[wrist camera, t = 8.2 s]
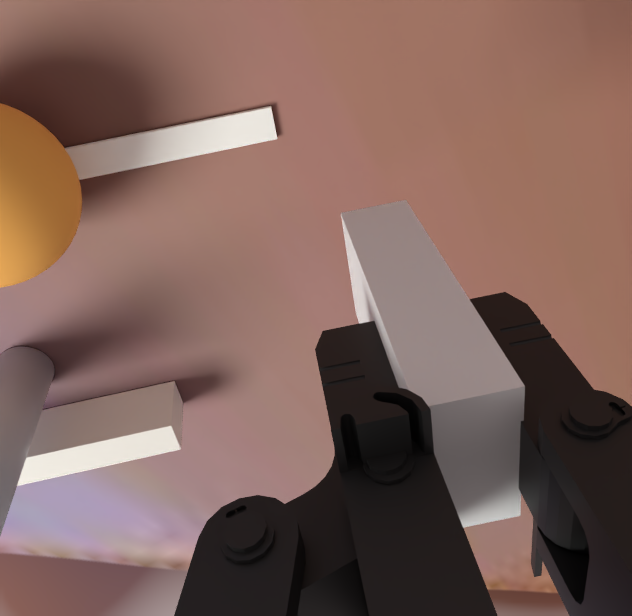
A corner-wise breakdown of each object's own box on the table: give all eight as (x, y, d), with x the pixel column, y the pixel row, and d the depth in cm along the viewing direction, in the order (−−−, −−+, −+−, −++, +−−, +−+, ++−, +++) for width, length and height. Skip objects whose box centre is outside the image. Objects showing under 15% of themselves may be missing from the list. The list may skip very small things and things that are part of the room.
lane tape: (270, 105, 22) (271, 106, 22) (277, 137, 23) (277, 139, 23) (0, 161, 22) (-1, 162, 22) (15, 191, 23) (14, 193, 23)
